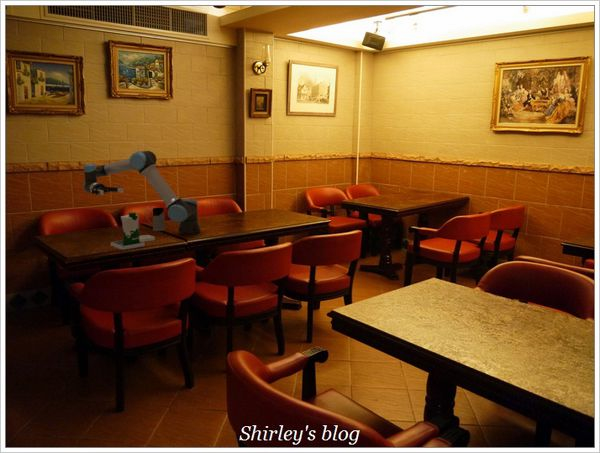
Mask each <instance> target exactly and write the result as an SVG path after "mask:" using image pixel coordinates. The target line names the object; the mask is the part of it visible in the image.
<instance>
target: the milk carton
mask: <svg viewBox="0 0 600 453" xmlns="http://www.w3.org/2000/svg"><path fill="white" fill-rule="evenodd" d="M139 219H140V215H137V214H136V212H129V213H128V214H127V215H126V214H125V215H123V216H122V215H121V216H120V220H121V223H122V237H123V238H122V240H123V245H125V246H126V245H132V244H137V243H140V241H139V236H140V235H139V234H140V233H139V221H140V220H139Z"/></svg>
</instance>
